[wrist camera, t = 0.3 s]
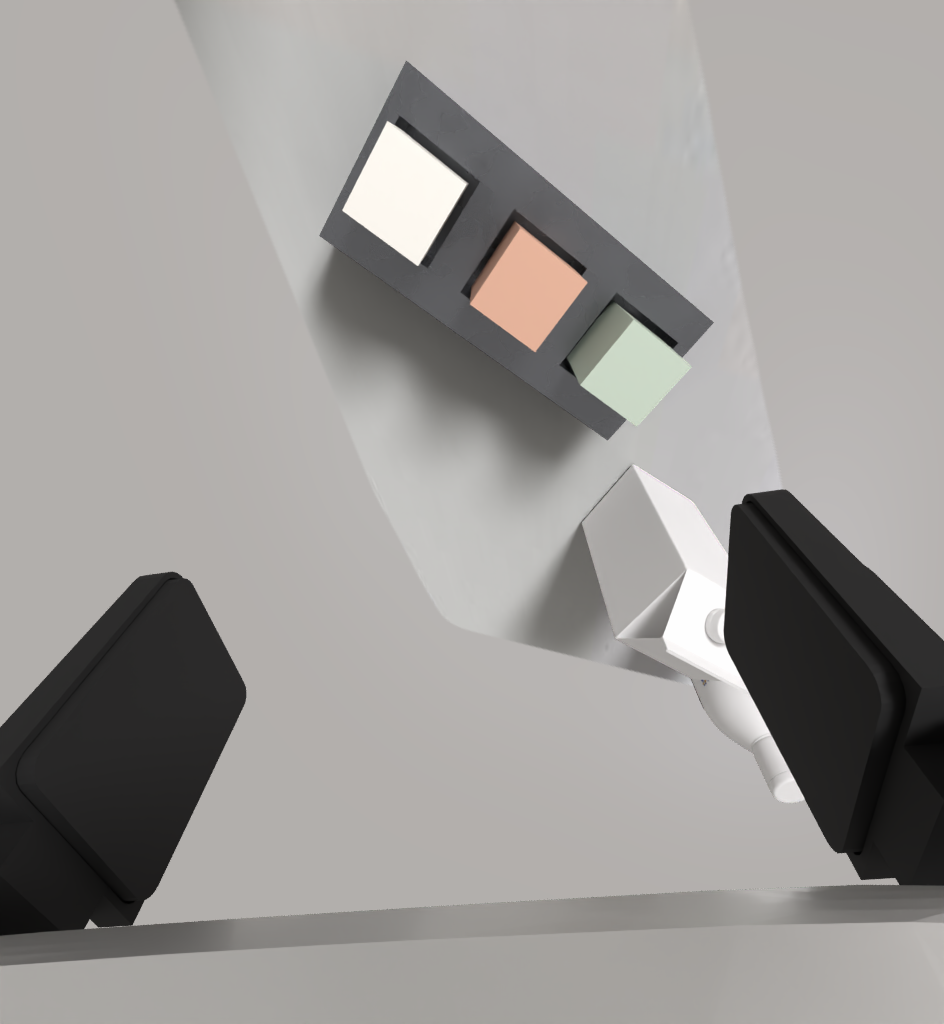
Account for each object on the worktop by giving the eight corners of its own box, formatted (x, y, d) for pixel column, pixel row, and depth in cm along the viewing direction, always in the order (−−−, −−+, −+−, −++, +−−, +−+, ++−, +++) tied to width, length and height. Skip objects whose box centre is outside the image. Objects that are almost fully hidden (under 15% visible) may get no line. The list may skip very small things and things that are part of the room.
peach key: (471, 286, 36) (469, 304, 31) (514, 220, 34) (520, 228, 29) (527, 328, 37) (535, 352, 32) (572, 267, 35) (587, 282, 30)
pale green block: (566, 357, 38) (579, 385, 33) (612, 299, 36) (633, 319, 31) (616, 394, 40) (636, 426, 34) (663, 340, 38) (691, 366, 32)
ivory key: (363, 205, 34) (342, 210, 29) (402, 130, 32) (387, 120, 27) (427, 253, 35) (417, 266, 30) (468, 183, 33) (466, 184, 28)
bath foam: (728, 624, 56) (835, 818, 39) (659, 628, 57) (735, 822, 40) (738, 569, 53) (861, 757, 36) (664, 574, 53) (751, 762, 36)
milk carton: (640, 556, 52) (711, 727, 36) (580, 521, 50) (627, 685, 34) (693, 501, 49) (798, 661, 33) (632, 462, 47) (710, 611, 31)
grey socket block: (341, 227, 38) (319, 235, 33) (417, 78, 34) (406, 60, 29) (593, 410, 45) (607, 440, 40) (684, 304, 41) (713, 322, 35)
